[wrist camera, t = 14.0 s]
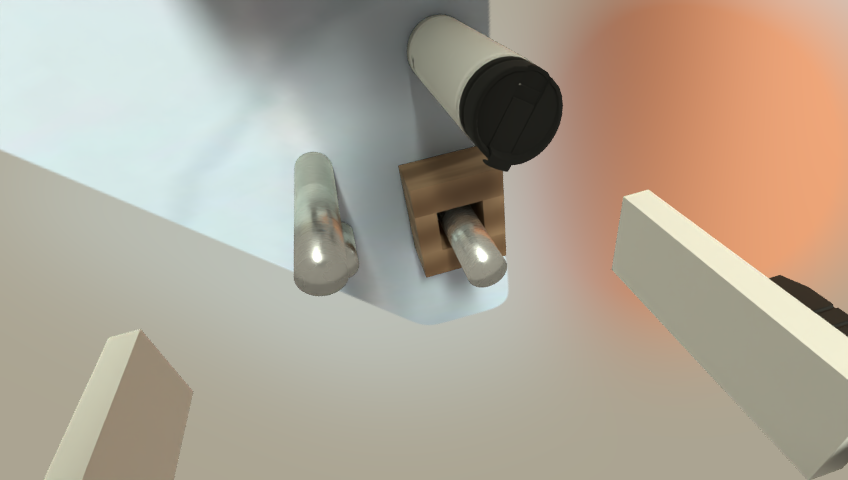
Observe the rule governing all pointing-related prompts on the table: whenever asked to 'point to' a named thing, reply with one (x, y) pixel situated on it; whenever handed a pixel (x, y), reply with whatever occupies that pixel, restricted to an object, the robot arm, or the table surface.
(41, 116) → the table surface
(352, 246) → the pin short
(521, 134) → the travel mug
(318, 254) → the pin long
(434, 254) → the hole block
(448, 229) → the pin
